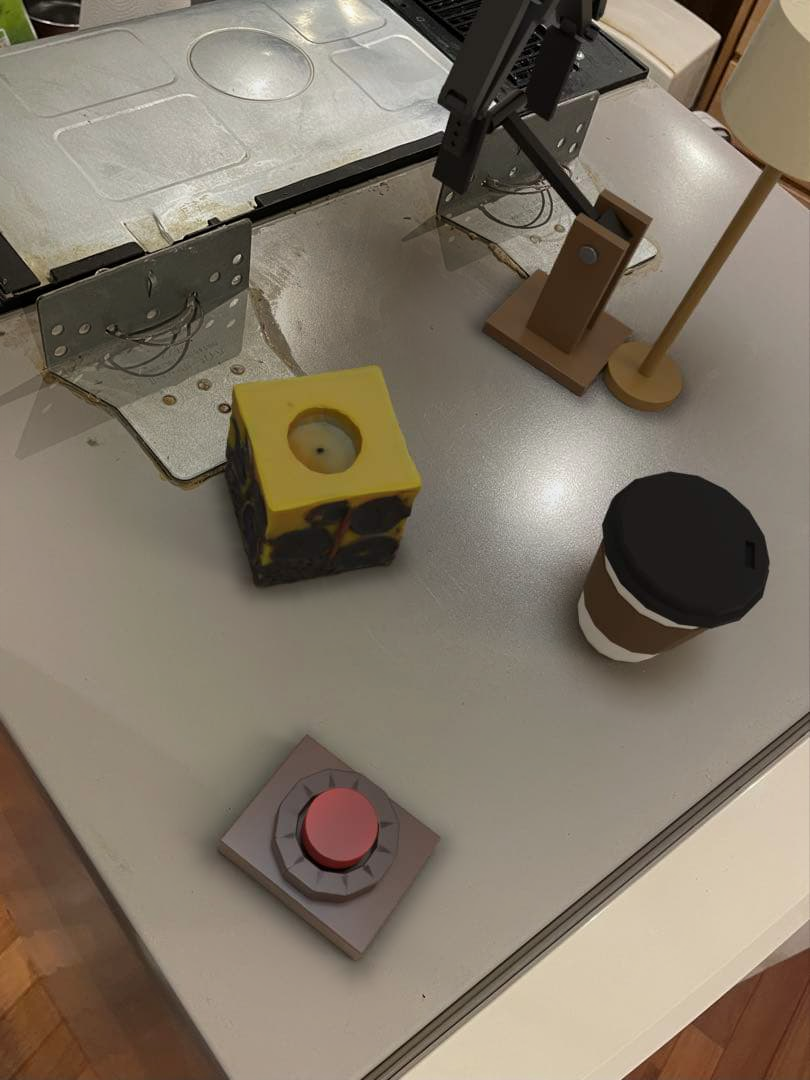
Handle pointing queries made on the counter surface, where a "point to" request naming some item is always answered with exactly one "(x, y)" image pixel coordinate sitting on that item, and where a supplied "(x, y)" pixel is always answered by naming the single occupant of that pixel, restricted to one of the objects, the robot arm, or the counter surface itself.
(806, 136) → the lamp
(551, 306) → the lever bracket
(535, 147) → the black t-shaped bar
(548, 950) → the counter surface
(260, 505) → the candle
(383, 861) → the switch block
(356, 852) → the button
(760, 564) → the coffee cup
